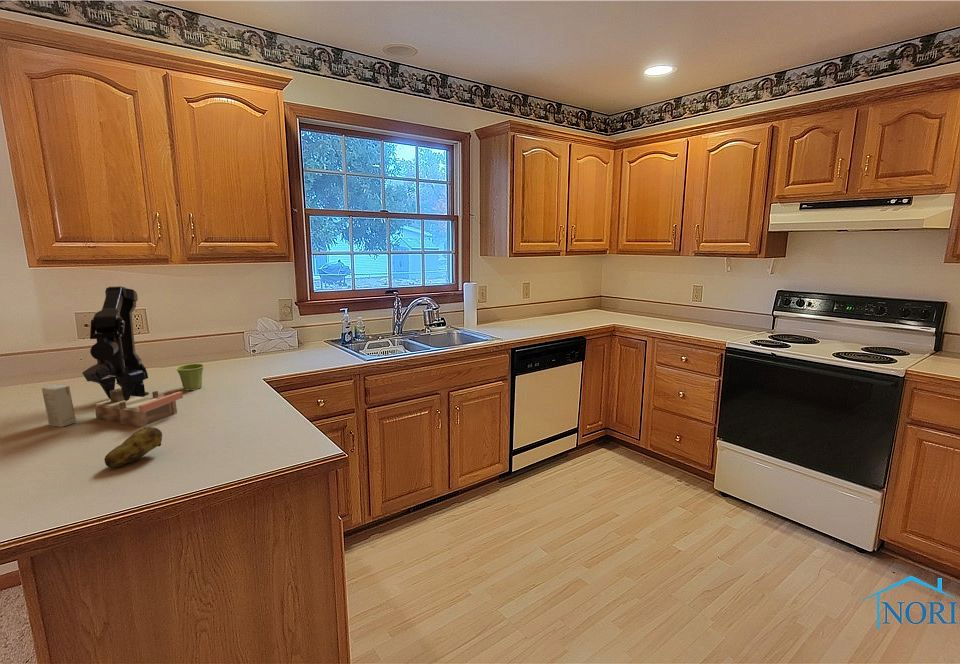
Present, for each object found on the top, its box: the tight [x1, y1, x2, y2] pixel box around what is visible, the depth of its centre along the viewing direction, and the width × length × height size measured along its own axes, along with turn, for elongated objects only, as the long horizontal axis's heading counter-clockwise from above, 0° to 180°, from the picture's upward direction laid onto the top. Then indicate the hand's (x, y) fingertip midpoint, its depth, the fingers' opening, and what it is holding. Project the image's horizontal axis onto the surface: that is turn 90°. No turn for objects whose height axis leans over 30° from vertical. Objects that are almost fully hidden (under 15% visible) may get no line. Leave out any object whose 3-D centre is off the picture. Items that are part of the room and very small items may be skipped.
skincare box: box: [41, 384, 77, 428], centre depth 148 cm, size 6×4×12 cm
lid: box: [95, 387, 169, 412], centre depth 154 cm, size 20×9×4 cm, turn 75°
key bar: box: [139, 391, 183, 412], centre depth 151 cm, size 2×14×2 cm, turn 165°
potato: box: [104, 426, 163, 468], centre depth 124 cm, size 8×13×8 cm, turn 131°
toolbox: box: [94, 390, 178, 428], centre depth 155 cm, size 20×12×7 cm, turn 75°
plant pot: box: [175, 363, 205, 391], centre depth 184 cm, size 9×9×9 cm
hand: (118, 399), depth 156 cm, fingers open, 6 cm apart
